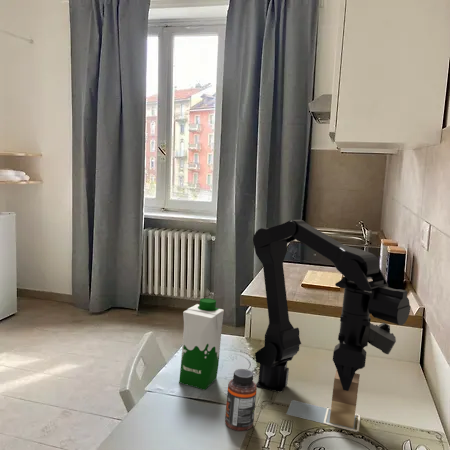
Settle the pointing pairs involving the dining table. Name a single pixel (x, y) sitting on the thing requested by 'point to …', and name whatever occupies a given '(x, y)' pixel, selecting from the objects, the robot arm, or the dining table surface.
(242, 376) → the supplement bottle
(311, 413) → the mat
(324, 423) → the outline
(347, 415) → the oak block
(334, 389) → the walnut block
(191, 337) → the milk carton
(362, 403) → the dining table surface
